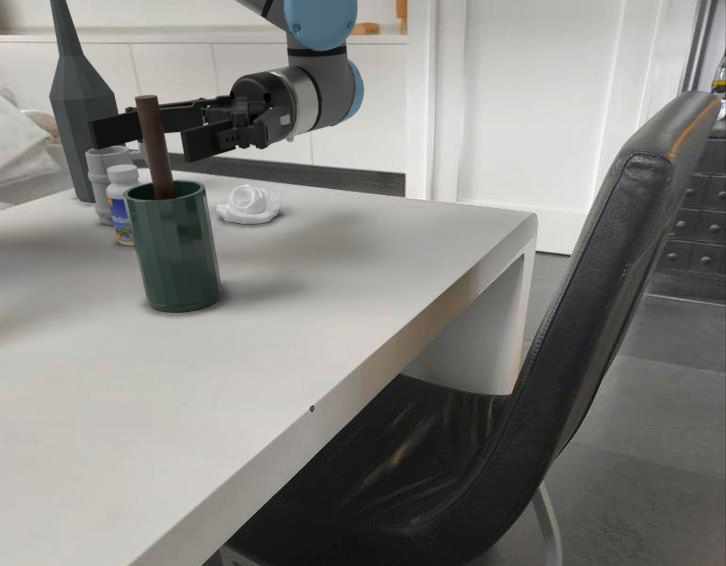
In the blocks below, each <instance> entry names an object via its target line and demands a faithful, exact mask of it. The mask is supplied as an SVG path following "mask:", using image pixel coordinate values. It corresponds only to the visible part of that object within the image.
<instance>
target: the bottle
mask: <svg viewBox="0 0 726 566" xmlns="http://www.w3.org/2000/svg"><path fill="white" fill-rule="evenodd" d="M49 3H50V9H51V15H52V20H53V26H54V27H53V28H54V33H55V38H56V44H57V51H58V60H57V63H56V67H55V71H54V75H53V79H52V82H51V87H50V89H49V90H50V91H49V95H48V98H49V102H50V106H51V109H52V113H53V116H54V120H55V123H56V127H57V130H58V131H57V132H58V134H59V138H60V142H61V145H62V149H63V152H64V156H65V161H66V163H67V166H68V170H69V175H70V178H71V181H72V184H73V185H72V186H73V189H74V193H75V196H76V197H77V199H79V200H80V202H87V203H93V204H94V203H96V200H95V196H94V191H93V187H92V182H91V181H90V180H89V177H88V172H89V169H88V164H87V160H86V155H85V153H86V152H88V151H89V150H91V149H94V147H93V143H92V139H91V135H90V131H89V127H88V123H87V121H88V120H93V119H98V118H103V117H107V116H112V115H117V114H120V113H119V109H118V105H117V100H116V95H115V92H114V91H113V90H112V88H111V86H109V85H108V84H107V82H106V81H105V79H104V78H103V77H102V75H101V74H100V73H99V72H98V71H97V69H96V68H95V66H93V64H92V63H91V61H90V60H89V59H88V58H87V56H86V55H85V54H84V50H83V47H82V45H81V42H80V38H79V35H78V32H77V30H76V27H75V24H74V19H73V17H72V15H71V12H70V9H69V5H68V2H67V0H49ZM116 146H124V147H127V143H124V144H120V145H116ZM112 147H113V146H112Z"/></svg>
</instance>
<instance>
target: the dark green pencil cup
mask: <svg viewBox="0 0 726 566" xmlns="http://www.w3.org/2000/svg"><path fill="white" fill-rule="evenodd" d="M173 181H174V186H175V191H176V197H177V198H173V199H165V200H156V198H155V193H154V188H153V184H152V181H151V182H146V183H143V184H141V185H138V186H134V187H132V188H130V189H127V190H126V191H125V192H124V193H123V199H124V203H125V208H126V212H127V216H128V220H129V225H130V229H131V233H132V237H133V241H134V246H133V247H134V249H135V254H136V259H137V262H138V263H137V264H138V266H139V267H138V268H139V271H140V275H141V279H142V284H143V288H144V291H145V297H146V298H147V303H148V305H149V306H150V307H151V308H152V309H154V310H156V311H161V312H165V313H185V312H193V311H197V310H198V311H199V310H201V309H205V308H207V307H210V306H213V305H214V304H215V303H217V302H218V301H219V300H221V298H222V297H223V287H222V281H221V275H220V268H219V263H218V257H217V250H216V244H215V239H214V233H213V228H212V220H211V214H210V208H209V203H208V197H207V191H206V186H205V184H203V183H202V182H200V181H196V180H190V179H188V180H187V179H173Z"/></svg>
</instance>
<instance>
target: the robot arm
mask: <svg viewBox="0 0 726 566" xmlns="http://www.w3.org/2000/svg"><path fill="white" fill-rule="evenodd" d="M233 1H234V2H236V3H238V4H239V5H241V6H243V7H245V8H247V10H249V11H252V12H253V13H254V14H257V16H260V17H262V19H264V20H265V21H267V22H269V23H270V24H271V25H273V26H275V27H277V28H279V29H280V30H282V31H284V32H285V37H286V38H285V39H286V47H287V48H286V52H287V61H288V65H286V66H281V67H277V68H273V69H272V68H271V69H268V70H264V71H259V72H254V73H249V74H245V75H241V76H239V78H237V79H236V80H235V81H234V83H233V84H232V86H231V89H230V91H229V94H224V95H217V96H215V97H214V98H204V97H199V98H197V99H191V100H185V101H176V102H175V101H174V102H168V103H159V108H160V113H161V118H162V123H163V129H164V134H174V133H179V134H180V139H181V146H182V151H183V156H184V157H183V158H184V162H185V163H190V164H191V163H195V162H198V161H201V160H205V159H207V158H211V157H215V156H218V155H222V154H225V153H228V152H231V151H236V150H237V146H238V149H242V150H246V149H249V148H250V147H251V146H254V147H255V149H259V150H265V149H267V148H268V147H270V146H271V145H272V144H275V143H278V142H281V141H283V140H286V142H287V143H292V142H294V140H295V137H296V136H300V135H303V134H306V133H309V132H313V131H317V130H319V129H324V128H328V127H335V126H337V125H339V124H340V123H344V122H345V121H347V120H349V119H351V118H352V117H354V116H355V115H356V114H357V112H359V110H360V108H361V107H362V104H363V100H364V96H365V85H364V79H363V78H362V76H361V73H360V70H359V68H358V67H357V65H356V64H355V63H354V62H353V61H352V60H350V59H349V58H348V46H347V39H348V38H349V37H350V35H351V33H352V32H353V31H354V29H355V25H356V23H357V20H358V19H357V18H358V11H359V5H358V0H233ZM87 123H88V127H89V131H90V135H91V139H92V143H93V147H94V149H96V150H100V149H104V148H108V147H112V146H116V145H120V144H124V143H125V144H127V143H132V142H136V141H137V143H138V144H139V143H143V136H142V131H141V126H140V121H139V117H138V112H137V107H136V106H127V107H125V108H124V112H122V113H119V114H117V115H112V116H107V117H103V118H98V119H93V120H88V121H87Z"/></svg>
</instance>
